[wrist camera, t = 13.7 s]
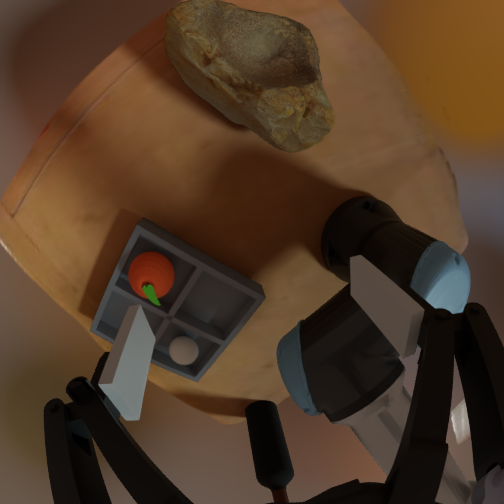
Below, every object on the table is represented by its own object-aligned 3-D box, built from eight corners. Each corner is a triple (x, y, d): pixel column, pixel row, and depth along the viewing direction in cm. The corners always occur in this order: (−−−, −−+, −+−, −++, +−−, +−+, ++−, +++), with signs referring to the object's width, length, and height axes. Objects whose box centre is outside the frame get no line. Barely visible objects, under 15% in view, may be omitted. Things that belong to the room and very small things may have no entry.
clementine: (186, 284, 44) (182, 308, 37) (147, 295, 43) (138, 320, 37) (167, 238, 41) (159, 256, 34) (127, 252, 40) (114, 271, 34)
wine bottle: (272, 396, 58) (303, 512, 30) (279, 413, 61) (308, 517, 33) (241, 405, 58) (260, 521, 30) (250, 420, 61) (270, 526, 33)
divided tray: (261, 285, 47) (265, 297, 43) (197, 368, 52) (197, 382, 48) (143, 217, 40) (137, 224, 36) (96, 318, 45) (89, 330, 41)
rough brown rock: (341, 101, 38) (399, 80, 24) (269, 168, 39) (306, 167, 25) (240, 5, 31) (258, -50, 16) (158, 64, 32) (140, 16, 18)
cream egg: (204, 337, 48) (203, 356, 43) (190, 355, 49) (189, 375, 44) (178, 325, 46) (175, 344, 41) (165, 344, 47) (162, 363, 43)
